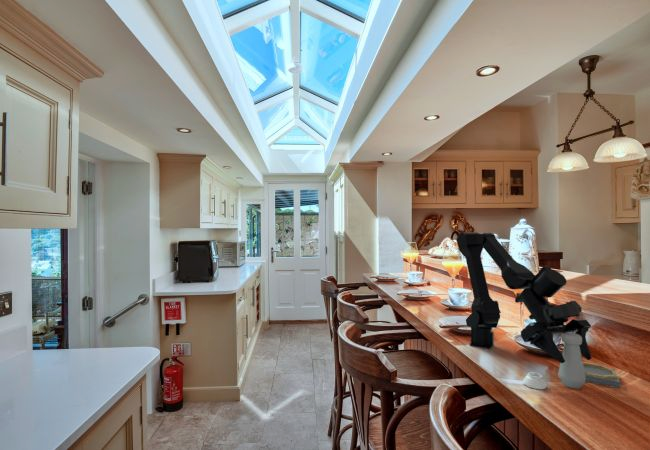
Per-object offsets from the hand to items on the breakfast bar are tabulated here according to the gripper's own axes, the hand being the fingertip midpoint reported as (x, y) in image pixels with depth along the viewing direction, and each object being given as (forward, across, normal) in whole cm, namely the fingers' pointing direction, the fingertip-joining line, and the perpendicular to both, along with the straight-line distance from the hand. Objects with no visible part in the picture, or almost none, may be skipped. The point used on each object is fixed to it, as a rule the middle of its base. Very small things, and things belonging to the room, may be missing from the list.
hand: (576, 360), depth 89 cm
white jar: (+2, -9, +8) cm, 12 cm away
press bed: (+2, +11, +8) cm, 13 cm away
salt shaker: (+4, 0, +6) cm, 7 cm away
